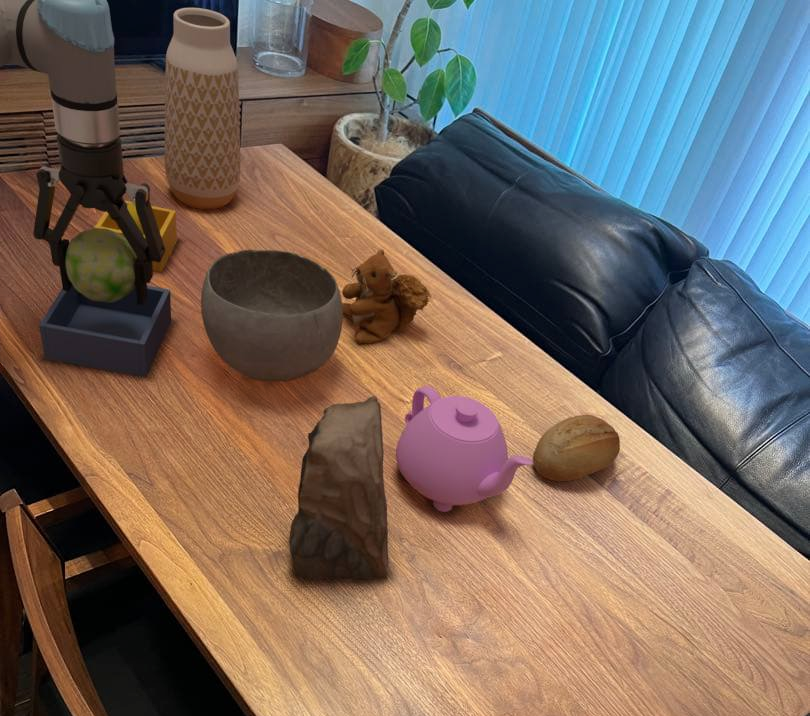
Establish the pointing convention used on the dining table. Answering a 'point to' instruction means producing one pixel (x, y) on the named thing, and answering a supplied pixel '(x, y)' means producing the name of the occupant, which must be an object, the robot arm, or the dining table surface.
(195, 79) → the vase
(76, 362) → the blue bin
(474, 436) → the teapot
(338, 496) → the jagged boulder chunk
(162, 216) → the yellow bin
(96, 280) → the decorative ball
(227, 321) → the bowl
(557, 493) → the dining table surface
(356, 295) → the stuffed squirrel
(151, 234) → the robot arm
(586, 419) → the bread roll
